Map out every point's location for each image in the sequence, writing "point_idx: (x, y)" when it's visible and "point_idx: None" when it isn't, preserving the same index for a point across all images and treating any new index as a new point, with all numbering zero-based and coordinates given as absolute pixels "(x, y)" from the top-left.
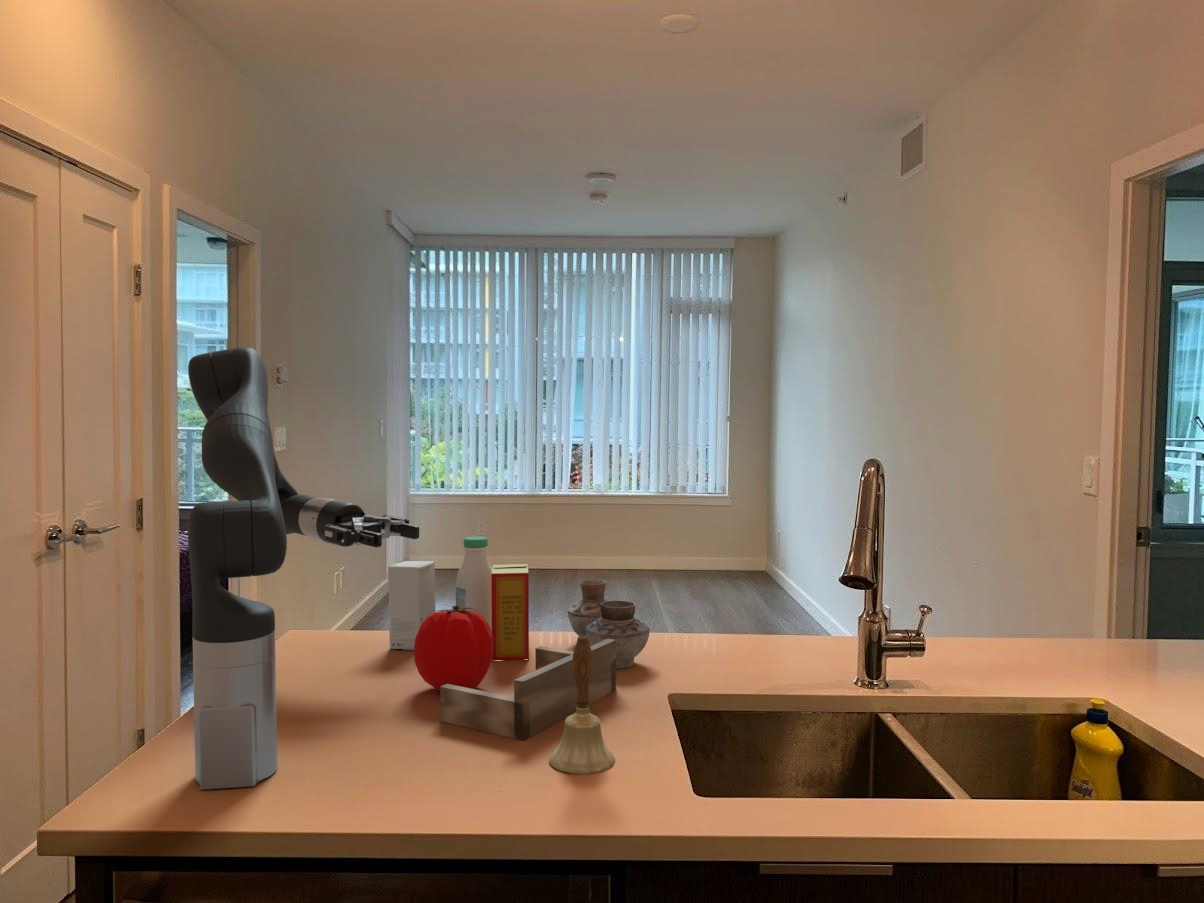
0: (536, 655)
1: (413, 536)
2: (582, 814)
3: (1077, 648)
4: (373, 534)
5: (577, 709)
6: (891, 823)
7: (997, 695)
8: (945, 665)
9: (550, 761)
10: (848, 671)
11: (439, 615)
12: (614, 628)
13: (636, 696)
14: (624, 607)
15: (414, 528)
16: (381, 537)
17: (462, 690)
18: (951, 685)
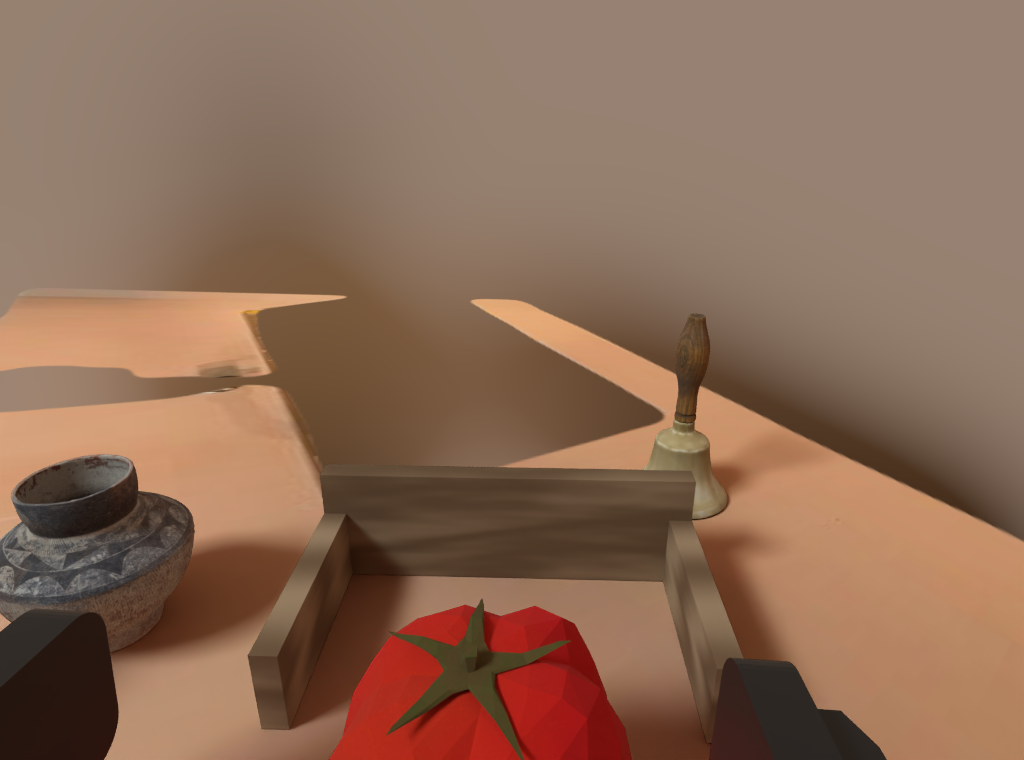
0: (281, 671)
1: (81, 750)
2: (790, 454)
3: (48, 316)
4: (821, 730)
5: (694, 424)
6: (606, 351)
7: (250, 337)
8: (125, 358)
9: (720, 508)
10: (161, 399)
11: (573, 678)
12: (163, 513)
13: None
14: (128, 459)
15: (78, 643)
16: (726, 680)
17: (723, 615)
18: (217, 352)
